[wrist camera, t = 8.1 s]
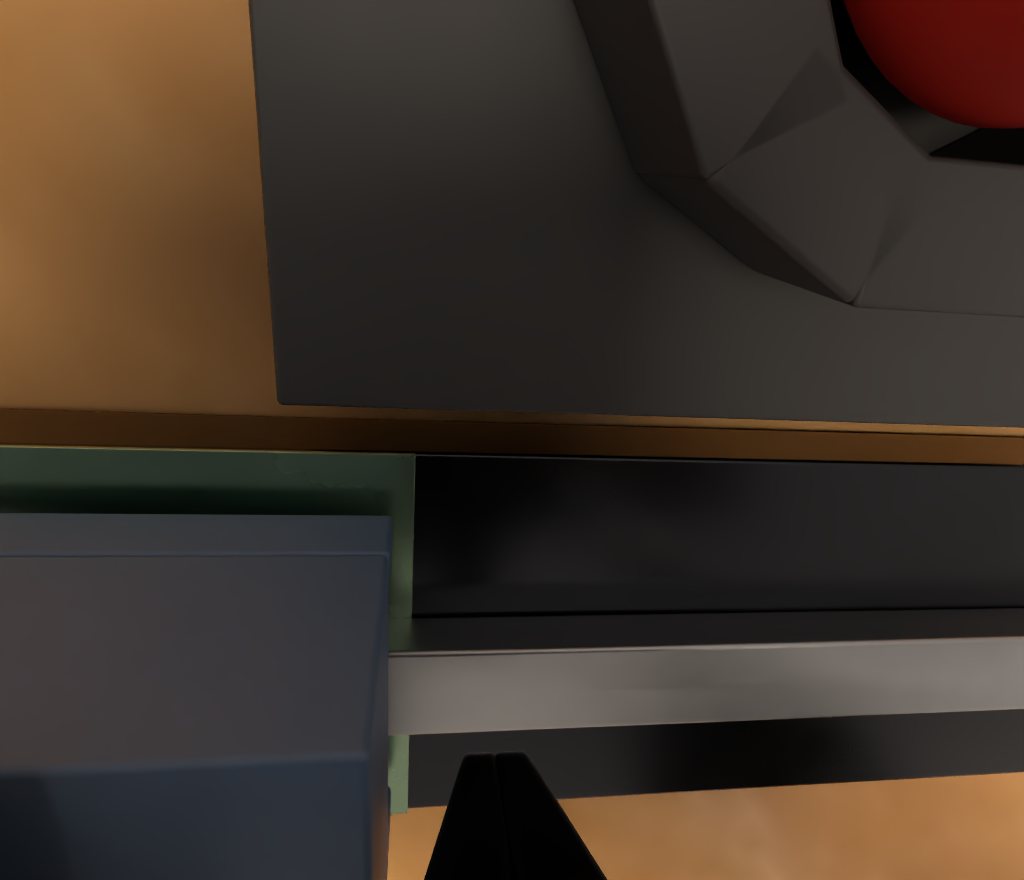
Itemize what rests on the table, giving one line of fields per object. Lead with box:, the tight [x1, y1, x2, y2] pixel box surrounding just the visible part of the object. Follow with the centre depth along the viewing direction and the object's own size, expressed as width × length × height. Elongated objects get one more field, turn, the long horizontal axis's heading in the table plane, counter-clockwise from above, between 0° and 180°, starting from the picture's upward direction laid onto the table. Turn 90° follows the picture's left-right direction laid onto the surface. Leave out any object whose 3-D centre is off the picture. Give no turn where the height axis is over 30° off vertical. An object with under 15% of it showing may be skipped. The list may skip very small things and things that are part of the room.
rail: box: [0, 409, 1024, 814], centre depth 9 cm, size 7×28×5 cm, turn 85°
